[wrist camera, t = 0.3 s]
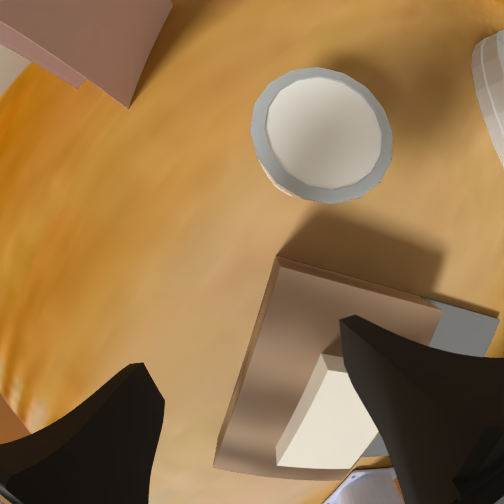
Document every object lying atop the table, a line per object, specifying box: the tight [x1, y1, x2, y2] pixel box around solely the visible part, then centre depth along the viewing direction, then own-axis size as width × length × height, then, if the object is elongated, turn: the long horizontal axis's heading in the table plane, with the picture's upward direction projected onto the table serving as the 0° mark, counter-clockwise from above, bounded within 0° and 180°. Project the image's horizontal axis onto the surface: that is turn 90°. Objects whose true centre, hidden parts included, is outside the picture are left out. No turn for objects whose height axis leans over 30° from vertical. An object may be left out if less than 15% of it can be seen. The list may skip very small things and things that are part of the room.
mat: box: [361, 297, 500, 457], centre depth 20 cm, size 18×12×1 cm
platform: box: [213, 256, 443, 481], centre depth 18 cm, size 18×12×4 cm, turn 165°
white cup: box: [250, 67, 393, 204], centre depth 15 cm, size 7×7×7 cm
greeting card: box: [0, 0, 174, 109], centre depth 10 cm, size 11×7×15 cm, turn 132°
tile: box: [276, 353, 378, 469], centre depth 15 cm, size 9×6×2 cm, turn 165°
